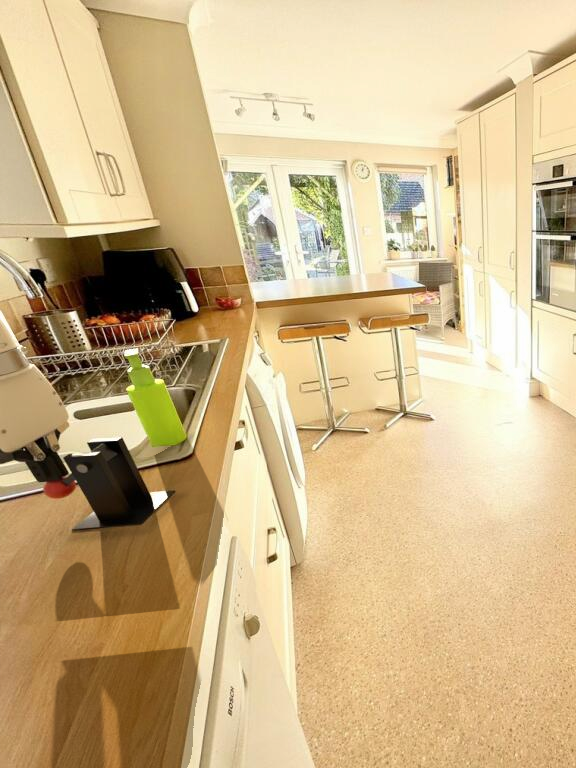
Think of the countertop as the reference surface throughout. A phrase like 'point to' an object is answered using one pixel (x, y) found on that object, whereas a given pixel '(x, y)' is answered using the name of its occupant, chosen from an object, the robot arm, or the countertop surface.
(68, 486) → the lever
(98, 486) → the bracket
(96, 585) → the countertop surface
